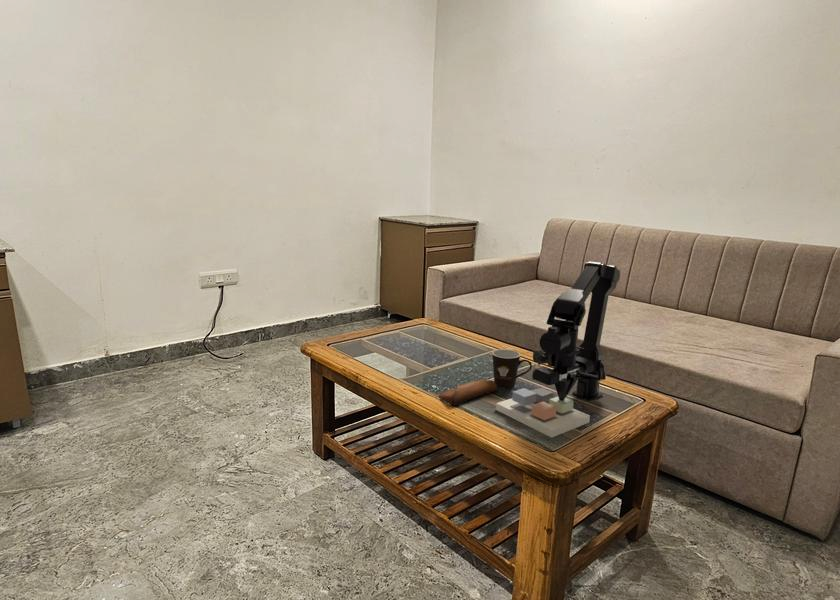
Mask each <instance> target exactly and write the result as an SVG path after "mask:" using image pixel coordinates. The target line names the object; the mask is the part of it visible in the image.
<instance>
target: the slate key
mask: <svg viewBox="0 0 840 600" xmlns="http://www.w3.org/2000/svg"><path fill="white" fill-rule="evenodd" d="M511 395H512V396H511V397H512V400H513V401H515V402H517V403H519V404H521V405H524V406H525V405H528V404H531V403H534V402H536V393H534V392H532V390H530V389H528V388H525V387H523V388H521V389H517V390H514V391H512V394H511Z"/></svg>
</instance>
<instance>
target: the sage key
mask: <svg viewBox="0 0 840 600" xmlns="http://www.w3.org/2000/svg"><path fill="white" fill-rule="evenodd" d="M549 404H550V405H552V406H555V407H556V411H557V412H559V413H565V412H568V411H571V410H573V409H574V400H572V399H569V398H567V397H566V398H565V400H563V401H561V400H559V397H558V395H557V396H555V397H553V398H552V399H549Z"/></svg>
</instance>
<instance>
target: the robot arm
mask: <svg viewBox="0 0 840 600" xmlns="http://www.w3.org/2000/svg"><path fill="white" fill-rule="evenodd" d="M620 278H621V271H620V269H618V266H616V265H609V264H605V263H602V262H600V261H599V262H597V261H590V260H589V261H587V262H585V263H584V266H583V269H582V271H581V273H580V274H579V276H578V277H577V279H576V280H575V282H574V283H573V284H572V286H571V287H570V289H569V290H567V291H564V292H562V293H560V295H559V296H558V297H557V298H556V299H555V300H554V301H553V303H552V306H551V309H550V311H549V314H548V317H547V320H546V323H545V324H546V325H548V328H547V331H546V332H544V333H542V335H541V337H540V339H539V347H540V349H537V350H533V353H532V361H533V362H534V363H537V365H538V366H539V365H540V366H541V365H545V364H547V366H541V367H537V368H535V369H534V370H533V371H532V376H531V379H532V380H534V381H536V382H540V383H542V384H544V385H547V386H552V385H554V387H555V390H556V394H557V396H558V397H559V400H561V401H563V400H565V398H567V397H568V395H569V393H570V392H571V390H572V389H573V387H574V386H575V384H576V390H574V391H572V395H575V396H577V397H580V398H583V399H584V400H587V401H593V400H595V399H598V398H600V397H603V396H604V395H603V393H601V392H600V391H599V390H600V382H601V381H602V380H603V381H605V380H606V378H607V371H608V369H607V366H606V363H605V361H604V357H605V355H604V352H603V350H602V348H601V338H602V333H603V329H604V322H605V319H606V318H605V317H606V312H607V306H608V300H609V296H610V295H611V294H612V293H613V292H614V291H615V290H616V289H617V285H618V282H619V281H620ZM590 294H591V297H590V296H589V295H590ZM588 297H590V302H589V309H588V313H587V320H586V325H585V331H584V335H583V341H582V343H581V344H580V345H579V346H578V341H579V340H578V339H579V338H578V337H579V327H580V326H581V325H582V323H583V320H584V317H585V316H586V312H587V311H586V310H587V309H586V301H587V299H588ZM549 367H550V368H549ZM551 367H552V368H553V369H551Z"/></svg>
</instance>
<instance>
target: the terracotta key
mask: <svg viewBox="0 0 840 600" xmlns="http://www.w3.org/2000/svg"><path fill="white" fill-rule="evenodd" d="M531 414H532V415H534V416H536V417H538V418H540V419H542V420H546V419H549V418H552V417H555V416H556V407H555V406H552V405H550V404H548V403H546V402H540V403H537V404H534V405H532V408H531Z"/></svg>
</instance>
